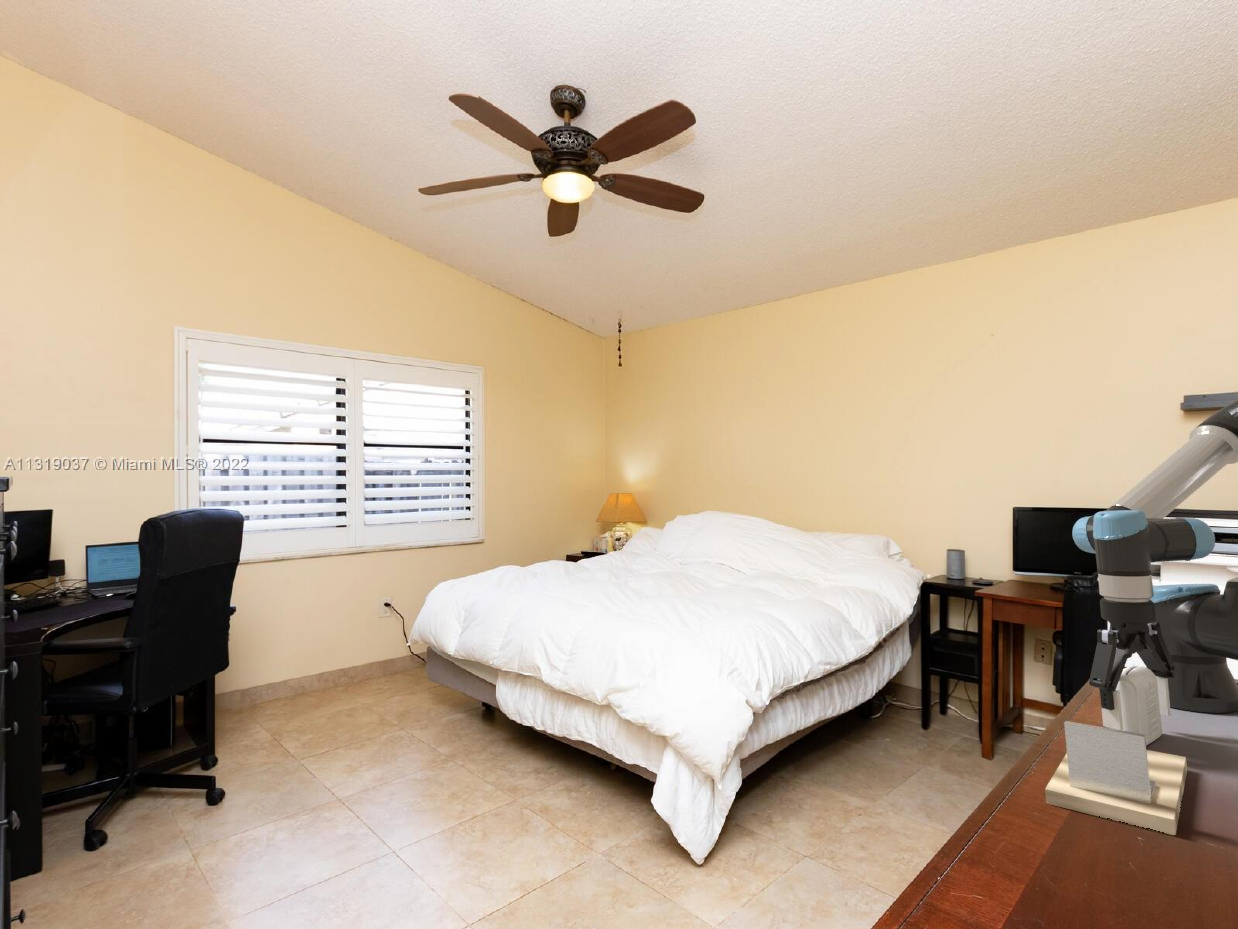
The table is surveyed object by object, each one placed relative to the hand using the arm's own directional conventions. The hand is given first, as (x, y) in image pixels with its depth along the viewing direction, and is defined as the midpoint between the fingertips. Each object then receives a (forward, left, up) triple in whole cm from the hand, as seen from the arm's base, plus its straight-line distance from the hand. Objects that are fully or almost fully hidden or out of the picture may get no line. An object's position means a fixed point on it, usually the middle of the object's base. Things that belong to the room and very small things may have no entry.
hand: (1137, 721), depth 110 cm
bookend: (+26, +11, -1) cm, 28 cm away
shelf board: (+21, +9, -3) cm, 23 cm away
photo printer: (0, 0, -3) cm, 3 cm away
